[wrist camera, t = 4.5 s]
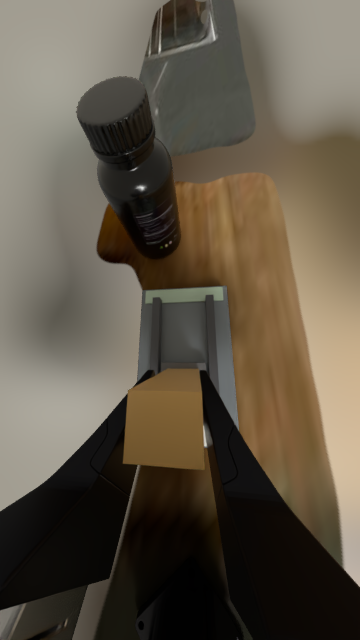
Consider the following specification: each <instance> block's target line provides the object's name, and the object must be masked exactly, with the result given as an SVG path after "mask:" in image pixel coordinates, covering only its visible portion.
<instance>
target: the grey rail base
mask: <svg viewBox="0 0 360 640" xmlns="http://www.w3.org/2000/svg"><path fill="white" fill-rule="evenodd" d="M162 362H206V371H207V373H208V375H209V377H210V379H211V380H212V382H213V384H214V386H215V388H216V390H217V392H218V393H219V395H220V397H221V399H222V401H223V403H224V404H225V406H226V408H227V410H228V412H229V414H230V416H231V417H232V419H233V421H234V423H235V425H236V426H237V428H238V430H239V425H238V414H237V402H236V390H235V379H234V367H233V355H232V344H231V332H230V320H229V309H228V297H227V286H213V287H194V288H176V289H158V290H143V292H142V309H141V327H140V343H139V360H138V377H137V382H138V381H139V379H140V378H141V377H142V376H143V375H144V373H145V372H146V371H147V370H154V372H155V375H157V374H159V373H161V363H162ZM203 434H204V448H207V443H206V437H205V430H204V424H203Z"/></svg>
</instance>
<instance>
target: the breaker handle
mask: <svg viewBox="0 0 360 640" xmlns="http://www.w3.org/2000/svg"><path fill="white" fill-rule="evenodd" d="M200 370H206V362H162V363H161V373H159V374H157V375H155V376H154V377H152V378H150V379H148V380H146V381H144V382H142V383H140V384H139V385H137V386H135V387H133V388H131V389H130V390H128V399H127V413H126V427H125V441H124V455H123V464H135V465H147V466H159V467H171V468H183V469H195V470H205V461H204V434H203V406H202V389H201V382H200Z"/></svg>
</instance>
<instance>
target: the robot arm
mask: <svg viewBox="0 0 360 640" xmlns="http://www.w3.org/2000/svg"><path fill="white" fill-rule="evenodd" d="M154 376H155V372H154V370H147V371H146V372H145V373H144V375H143V376H142V377H141V378H140V379H139V381H138V382H137V383H136V384H135V385H134V387H135V386H137V385H139V384H140V383H142V382H144V381H146V380H148V379H150V378H152V377H154ZM200 382H201V389H202V406H203V424H204V430H205V437H206V443H207V450H208V456H209V463H210V470H211V476H212V483H213V489H214V496H215V502H216V509H217V515H218V522H219V528H220V535H221V542H222V548H223V555H224V561H225V568H226V574H227V581H228V587H229V594H230V600H231V601H232V603H233V605H234V607H235V608H236V610H237V612H238V614H239V615H240V617H241V619H242V621H243V622H244V624H245V626H246V628H247V629H248V631H249V633H250V634H251V636H252V638H253V640H360V587H359V586H358V585H357V584H356V583H355V582H354V580H353V579H352V578H351V577H350V576H349V575H348V574H347V572H346V571H345V570H344V569H343V568H342V567H341V566H340V565H339V563H338V562H337V561H336V560H335V559H334V558H333V557H332V556H331V554H330V553H329V552H328V551H327V550H326V549H325V548H324V547H323V545H322V544H321V543H320V542H319V541H318V540H317V539H316V538H315V536H314V535H313V534H312V533H311V532H310V531H309V530H308V529H307V528H306V526H305V525H304V524H303V523H302V522H301V521H300V520H299V519H298V517H297V516H296V515H295V514H294V513H293V512H292V510H291V509H290V508H289V506H288V505H287V504H286V503H285V501H284V500H283V498H282V497H281V496H280V494H279V493H278V491H277V490H276V488H275V487H274V485H273V484H272V482H271V481H270V479H269V478H268V476H267V475H266V473H265V472H264V470H263V469H262V467H261V466H260V464H259V463H258V461H257V460H256V458H255V457H254V455H253V454H252V452H251V450H250V449H249V447H248V446H247V444H246V442H245V441H244V439H243V437H242V435H241V434H240V432H239V430H238V428H237V426H236V425H235V423H234V421H233V419H232V417H231V416H230V414H229V412H228V410H227V408H226V406H225V404H224V403H223V401H222V399H221V397H220V395H219V393H218V392H217V390H216V388H215V386H214V384H213V382H212V380H211V379H210V377H209V375H208V373H207V371H206V370H200ZM127 399H128V394H127V395H126V396H125V397H124V398H123V399H122V401H121V402H120V403H119V404H118V405H117V407H116V408H115V409H114V410H113V411H112V413H111V414H110V415H109V416H108V418H107V419H105V421H104V422H103V423H102V424H101V426H100V427H99V428H98V429H97V430H96V431H95V432H94V433H93V435H91V436H90V438H89V439H88V440H87V441H86V442H85V443H84V444H83V445H82V446H81V447H80V448H79V449H78V450H77V451H76V452H75V453H74V454H73V455H72V456H71V457H70V458H69V459H68V460H67V461H66V462H65V463H64V464H63V465H62V466H61V467H60V469H58V471H57V472H55V473H54V474H53V475H52V476H51V477H50V478H49V479H48V480H47V481H45V482H44V483H43V484H41V485H40V486H39V487H37V488H36V489H34V490H33V491H31V492H29V493H28V494H26V495H25V496H23V497H22V498H20V499H19V500H17V501H16V502H14V503H13V504H11V505H9V506H8V507H6V508H5V509H3V510H2V511H0V640H72V637H73V634H74V630H75V627H76V623H77V620H78V617H79V614H80V610H81V607H82V603H83V600H84V597H85V593H86V590H87V587H88V585H89V584H92V583H96V582H99V581H102V580H106V579H109V577H110V573H111V570H112V566H113V562H114V558H115V554H116V550H117V546H118V542H119V538H120V534H121V530H122V526H123V522H124V518H125V514H126V510H127V506H128V502H129V498H130V497H129V496H130V493H131V489H132V485H133V481H134V477H135V473H136V469H137V465H135V464H123V455H124V441H125V427H126V413H127ZM190 569H193V570H190ZM135 627H136V631H137V633H138V635H139V637H140V639H141V640H243V639H242V637H241V636H240V634H239V632H238V631H237V629H236V627H235V625H234V623H233V621H232V620H231V618H230V616H229V615H228V613H227V611H226V610H225V608H224V606H223V605H222V603H221V602H220V600H219V598H218V597H217V595H216V593H215V592H214V590H213V589H212V588H211V586H210V584H209V583H208V581H207V580H206V578H205V576H204V575H203V573H202V571H201V570H200V568H199V566H198V565H197V563H196V561H195V560H194V559H192V558H189V559H188V560H187V561H186V562H185V563H184V564H183V565H182V566H181V567H180V568H179V569H178V570H177V571H176V572H175V573H174V574H173V575H172V576H171V577H170V578H169V579H168V580H167V581H166V582H165V584H164V585H163V586H162V587H161V588H160V589H159V590H158V591H157V592H156V593H155V594H154V595H153V596H152V597H151V598H150V599H149V600H148V601H147V602H146V603H145V604H144V605H143V606H142V607H141V609H140V610H139V611H138V614H137V619H136V623H135Z"/></svg>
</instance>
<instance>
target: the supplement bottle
mask: <svg viewBox="0 0 360 640" xmlns="http://www.w3.org/2000/svg"><path fill="white" fill-rule="evenodd" d="M76 113H77V118H78V120H79V122H80V124H81V126H82V128H83V130H84V132H85V134H86V136H87V138H88V140H89V142H90V146H91V148H92V150H93V152H94V154H95V155H96V156H97V158H98V159H99V161H98V167H97V175H98V181H99V185H100V187H101V189H102V191H103V193H104V195H105V197H106V198H107V200H108V202H109V203H110V205H111V207H112V208H113V210H114V212H115V213H116V215H117V217H118V219H119V220H120V222H121V224H122V225H123V227H124V229H125V230H126V232H127V234H128V235H129V237H130V239H131V240H132V242H133V244H134V245H135V247H136V249H137V250H138V251H139V252H140V253H141V254H142V255H143V256H145V257H147V258H151V259H160V258H164V257H166V256H168V255H170V254H171V253H173V252H174V251H175V250H176V248H177V247H178V245H179V243H180V239H181V229H180V221H179V213H178V205H177V198H176V190H175V182H174V175H173V167H172V162H171V158H170V155H169V153H168V151H167V149H166V147H165V146H164V145H163V143H162V142H161V141H160V140H158V139H157V138H156V137H155V126H154V120H153V118H152V116H151V111H150V106H149V101H148V96H147V92H146V89H145V87H144V84H142V83H141V81H139V80H137V79H136V78H132V77H127V76H123V77H121V76H119V77H113V78H110V79H106V80H105V81H102V82H100V83H98V84H96V85H94V86H93V87H92V88H90V89H89V90H88V91H87V92H86V93H85V94H84V95H83V96H82V97H81V99H80V101H79V102H78V106H77V111H76Z"/></svg>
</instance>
